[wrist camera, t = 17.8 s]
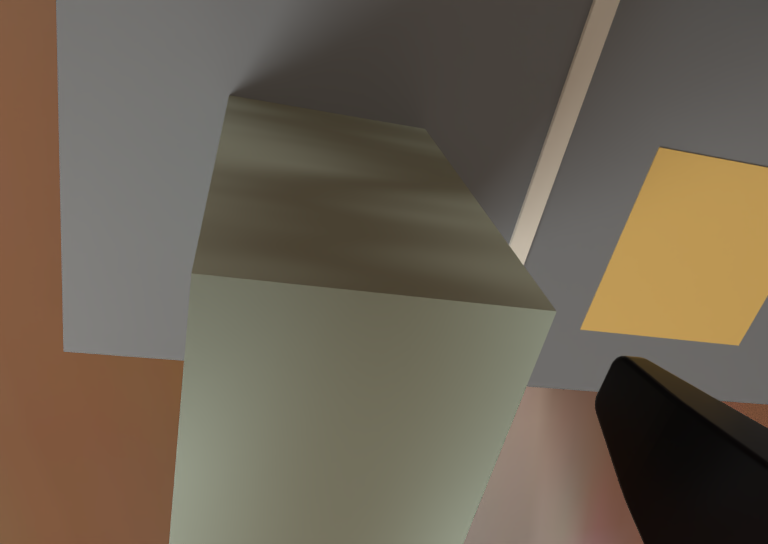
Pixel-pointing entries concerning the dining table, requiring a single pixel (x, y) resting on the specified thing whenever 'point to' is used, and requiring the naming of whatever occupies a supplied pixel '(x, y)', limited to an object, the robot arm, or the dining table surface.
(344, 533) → the peg
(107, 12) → the board
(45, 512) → the dining table surface
